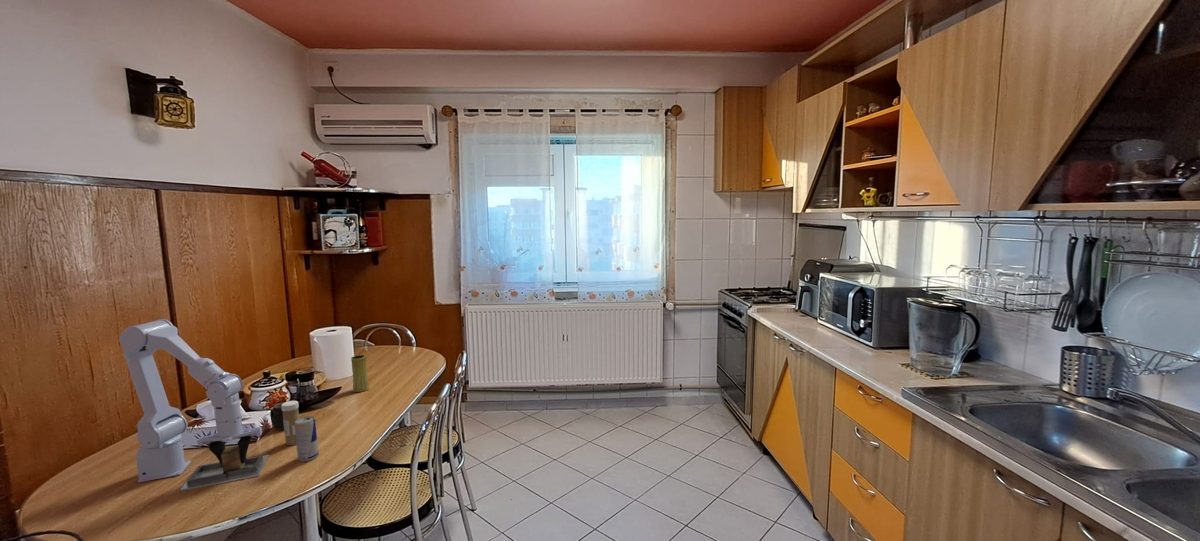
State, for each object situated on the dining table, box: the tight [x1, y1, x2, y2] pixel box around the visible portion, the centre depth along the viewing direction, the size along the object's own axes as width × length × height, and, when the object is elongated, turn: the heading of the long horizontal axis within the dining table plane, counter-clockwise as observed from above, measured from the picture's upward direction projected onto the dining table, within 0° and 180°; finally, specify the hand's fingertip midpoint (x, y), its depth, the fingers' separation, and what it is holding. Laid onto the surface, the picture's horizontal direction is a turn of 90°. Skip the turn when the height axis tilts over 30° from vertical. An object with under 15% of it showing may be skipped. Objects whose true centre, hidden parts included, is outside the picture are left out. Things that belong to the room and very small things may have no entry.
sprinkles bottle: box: [281, 400, 300, 446], centre depth 152 cm, size 5×5×14 cm
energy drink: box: [295, 415, 319, 463], centre depth 142 cm, size 5×5×12 cm
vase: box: [350, 354, 370, 393], centre depth 197 cm, size 6×6×14 cm
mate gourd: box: [271, 396, 297, 430], centre depth 164 cm, size 7×8×10 cm
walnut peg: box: [221, 445, 245, 472], centre depth 135 cm, size 4×4×6 cm
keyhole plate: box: [179, 454, 270, 492], centre depth 135 cm, size 18×12×2 cm
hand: (234, 463), depth 136 cm, fingers closed on walnut peg, 4 cm apart
